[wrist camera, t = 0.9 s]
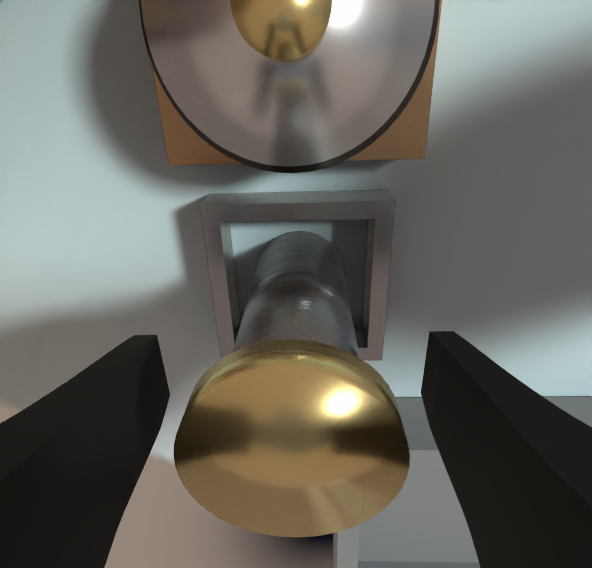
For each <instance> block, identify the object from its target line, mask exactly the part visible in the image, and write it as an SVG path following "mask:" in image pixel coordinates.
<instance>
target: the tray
mask: <svg viewBox="0 0 592 568" xmlns="http://www.w3.org/2000/svg"><path fill="white" fill-rule="evenodd" d="M544 398H545V399H547V400H548V401H550V402H551V403H553V404H554V405H556V406H557V407H559V408H561V409H562V410H564V411H565V412H567V413H569V414H570V415H572V416H573V417H575V418H577V419H578V420H580V421H582V422H584V423H585V424H587V425H589V426H591V427H592V397H544ZM395 400H396V402H397V405H398V409H399V413H400V416H401V420H402V423H403V427H404V431H405V434H406V438H407V442H408V446H409V453H410V465H409V470H408V474H407V478H406V480H405V482H404V485H403V487H402V488H401V490H400V491H399V493H398V495H397V496H396V497H395V498H394V499H393V501H392V502H391V503H390V504H389V505H388V506H387V507H385V508H384V509H383V510H382V511H381V512H379V513H378V514H376V515H375V516H373V517H372V518H370V519H369V520H367V521H365V522H363V523H361V524H359V525H356V526H354V527H351V528H349V529H346V530H343V531H339V532H336V533H333V568H480V564H479V561H478V558H477V554H476V551H475V547H474V544H473V540H472V537H471V534H470V530H469V528H468V525H467V522H466V519H465V516H464V513H463V511H462V508H461V506H460V503H459V501H458V498H457V496H456V493H455V491H454V488H453V486H452V483H451V481H450V478H449V476H448V473H447V471H446V468H445V466H444V463H443V460H442V458H441V455H440V453H439V450H438V448H437V445H436V443H435V440H434V438H433V435H432V432H431V430H430V427H429V423H428V419H427V415H426V412H425V407H424V403H423V399H422V397H395Z"/></svg>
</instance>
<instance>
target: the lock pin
mask: <svg viewBox="0 0 592 568" xmlns="http://www.w3.org/2000/svg"><path fill="white" fill-rule="evenodd" d="M174 460H175V466H176V469H177V472H178V475H179V477H180V479H181V481H182V483H183V485H184V486H185V488H186V489H187V490H188V492H189V493H190V495H191V496H192V497H193V498H194V499H195V500H196V501H197V502H198V503H199V504H200V505H202V506H203V507H204V508H205V509H207V510H208V511H209V512H211V513H212V514H214V515H215V516H217V517H219V518H220V519H222V520H225V521H226V522H228V523H230V524H233V525H235V526H238V527H240V528H243V529H246V530H250V531H253V532H257V533H261V534H266V535H273V536H281V537H312V536H320V535H326V534H331V533H336V532H339V531H343V530H346V529H349V528H351V527H354V526H356V525H359V524H361V523H363V522H365V521H367V520H369V519H370V518H372V517H373V516H375V515H376V514H378V513H379V512H381V511H382V510H383V509H384V508H385V507H387V506H388V505H389V504H390V503H391V502H392V501H393V499H394V498H395V497H396V496H397V495H398V493H399V491H400V490H401V488H402V487H403V485H404V482H405V480H406V478H407V474H408V470H409V465H410V453H409V446H408V442H407V438H406V434H405V431H404V427H403V423H402V420H401V416H400V413H399V409H398V405H397V402H396V400H395V397H394V394H393V393H392V391H391V389H390V387H389V385H388V384H387V383H386V381H385V380H384V379H383V377H382V376H381V375H380V374H379V373H378V372H377V371H376V370H375V369H374V368H373V367H372V366H370V365H369V364H367V363H366V362H365V361H363V360H362V359H360V357H359V352H358V346H357V341H356V336H355V330H354V325H353V319H352V314H351V309H350V303H349V298H348V292H347V287H346V282H345V276H344V271H343V265H342V261H341V258H340V255H339V253H338V252H337V250H336V249H335V247H334V246H333V245H332V244H331V243H330V242H329V241H327V240H326V239H325V238H323V237H321V236H319V235H317V234H314V233H311V232H305V231H296V232H289V233H286V234H283V235H280V236H278V237H276V238H275V239H273V240H272V241H271V242H270V243H269V244H268V245H267V246H266V247H265V248H264V250H263V251H262V253H261V255H260V257H259V261H258V264H257V268H256V271H255V275H254V278H253V282H252V285H251V289H250V293H249V296H248V300H247V303H246V307H245V310H244V314H243V317H242V321H241V325H240V328H239V332H238V335H237V339H236V342H235V346H234V349H233V352H232V353H230V354H228V355H227V356H225V357H223V358H222V359H220V360H219V361H217V362H216V363H215V364H214V365H212V366H211V367H210V368H209V369H208V370H207V371H206V372H205V373H204V374H203V375H202V377H201V378H200V380H199V381H198V383H197V384H196V386H195V388H194V390H193V392H192V394H191V397H190V399H189V402H188V405H187V407H186V410H185V413H184V415H183V418H182V421H181V423H180V426H179V429H178V431H177V434H176V438H175V443H174Z"/></svg>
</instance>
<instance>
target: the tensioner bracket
mask: <svg viewBox="0 0 592 568" xmlns="http://www.w3.org/2000/svg"><path fill="white" fill-rule="evenodd" d="M441 4H442V0H139V6H140V14H141V23H142V30H143V34H144V38H145V43H146V47H147V51H148V54H149V57H150V60H151V63H152V68H153V74H154V80H155V85H156V91H157V97H158V103H159V109H160V115H161V121H162V127H163V133H164V139H165V145H166V151H167V157H168V163H169V165H204V164H241V163H242V164H245V165H248V166H251V167H254V168H257V169H261V170H266V171H272V172H281V173H299V172H309V171H314V170H318V169H323V168H327V167H330V166H332V165H335V164H338V163H340V162H343V161H353V160H390V159H425V150H426V141H427V132H428V123H429V114H430V104H431V95H432V86H433V77H434V68H435V59H436V50H437V41H438V31H439V22H440V13H441ZM394 208H395V200H394V199H393V197H392V196H391V194H390V193H389V192H388V190H353V191H311V192H269V193H227V194H209V195H208V196H207V198H206V199H205V200H204V201H203V202H202V203H201V204H200V211H201V218H202V225H203V232H204V239H205V246H206V253H207V260H208V267H209V275H210V282H211V289H212V296H213V303H214V310H215V317H216V324H217V331H218V338H219V345H220V352H221V359H222V358H223V357H225V356H227V355H228V354H230V353H232V352H233V349H234V346H235V342H236V339H237V335H238V332H239V328H240V316H239V307H238V298H237V288H236V279H235V270H234V261H233V252H232V243H231V234H230V225H229V222H256V221H303V220H351V219H369V220H368V240H367V259H366V278H365V297H364V316H363V327H354V330H355V336H356V341H357V346H358V352H359V357H360V359H362V360H382V355H383V343H384V331H385V318H386V306H387V294H388V281H389V269H390V257H391V244H392V232H393V220H394Z"/></svg>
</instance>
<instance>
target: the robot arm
mask: <svg viewBox="0 0 592 568" xmlns="http://www.w3.org/2000/svg"><path fill="white" fill-rule="evenodd" d="M421 395H422V399H423V403H424V407H425V412H426V415H427V419H428V423H429V427H430V430H431V432H432V435H433V438H434V440H435V443H436V445H437V448H438V450H439V453H440V455H441V458H442V460H443V463H444V466H445V468H446V471H447V473H448V476H449V478H450V481H451V483H452V486H453V488H454V491H455V493H456V496H457V498H458V501H459V503H460V506H461V508H462V511H463V513H464V516H465V519H466V522H467V525H468V528H469V530H470V534H471V537H472V540H473V544H474V547H475V551H476V554H477V558H478V561H479V564H480V568H592V427H591V426H589V425H587V424H585V423H584V422H582V421H580V420H578V419H577V418H575V417H573V416H572V415H570V414H569V413H567V412H565V411H564V410H562V409H561V408H559V407H557V406H556V405H554V404H553V403H551V402H550V401H548V400H547V399H545V398H544V397H542V396H541V395H539V394H538V393H536V392H535V391H533V390H532V389H531V388H529V387H528V386H526V385H525V384H523V383H522V382H521V381H519V380H518V379H516V378H515V377H514V376H512V375H511V374H510V373H508V372H507V371H506V370H504V369H503V368H501V367H500V366H499V365H498V364H496V363H495V362H494V361H492V360H491V359H490V358H488V357H487V356H486V355H484V354H483V353H482V352H481V351H479V350H478V349H477V348H475V347H474V346H473V345H471V344H470V343H469V342H467V341H466V340H465V339H464V338H462V337H461V336H459V335H458V334H457V333H455V332H454V331H438V332H429V339H428V346H427V353H426V360H425V367H424V375H423V382H422V389H421ZM169 397H170V392H169V388H168V383H167V379H166V374H165V370H164V365H163V361H162V356H161V352H160V347H159V343H158V338H157V335H134V336H133V337H131V338H129V339H128V340H126V341H125V342H123V343H122V344H120V345H119V346H117V347H116V348H114V349H113V350H111V351H110V352H109V353H107V354H106V355H104V356H103V357H102V358H100V359H99V360H97V361H96V362H94V363H93V364H92V365H90V366H89V367H87V368H86V369H85V370H83V371H82V372H80V373H79V374H77V375H76V376H75V377H73V378H72V379H70V380H69V381H67V382H66V383H64V384H63V385H61V386H60V387H58V388H57V389H55V390H54V391H52V392H50V393H49V394H47V395H46V396H44V397H43V398H41V399H40V400H38V401H37V402H35V403H34V404H32V405H30V406H29V407H27V408H26V409H24V410H22V411H21V412H19V413H17V414H16V415H14V416H12V417H11V418H9V419H7V420H6V421H4V422H2V423H0V568H104V567H105V564H106V561H107V558H108V555H109V552H110V548H111V546H112V543H113V540H114V537H115V534H116V531H117V528H118V526H119V523H120V521H121V518H122V516H123V513H124V511H125V508H126V506H127V504H128V502H129V499H130V497H131V494H132V492H133V490H134V488H135V486H136V483H137V481H138V479H139V477H140V474H141V472H142V470H143V468H144V465H145V463H146V461H147V458H148V456H149V454H150V452H151V449H152V447H153V445H154V442H155V440H156V438H157V435H158V433H159V431H160V428H161V425H162V421H163V418H164V415H165V411H166V408H167V404H168V400H169Z"/></svg>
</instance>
